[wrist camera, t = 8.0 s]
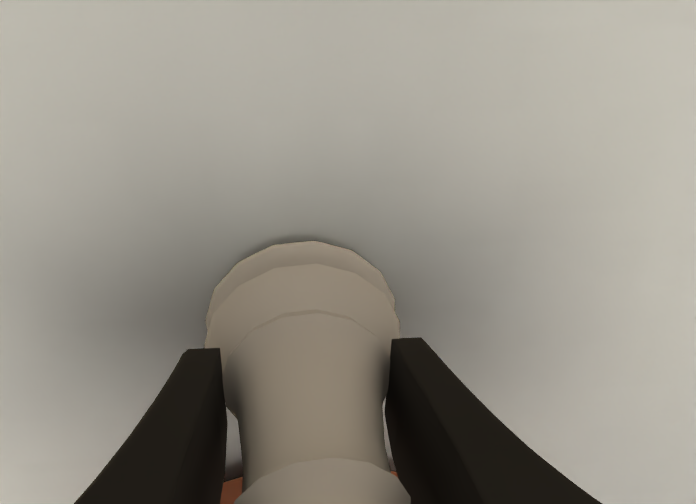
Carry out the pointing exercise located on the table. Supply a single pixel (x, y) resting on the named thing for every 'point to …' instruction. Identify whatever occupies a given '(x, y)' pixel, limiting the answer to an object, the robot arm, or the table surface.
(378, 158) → the table surface
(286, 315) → the rook chess piece
